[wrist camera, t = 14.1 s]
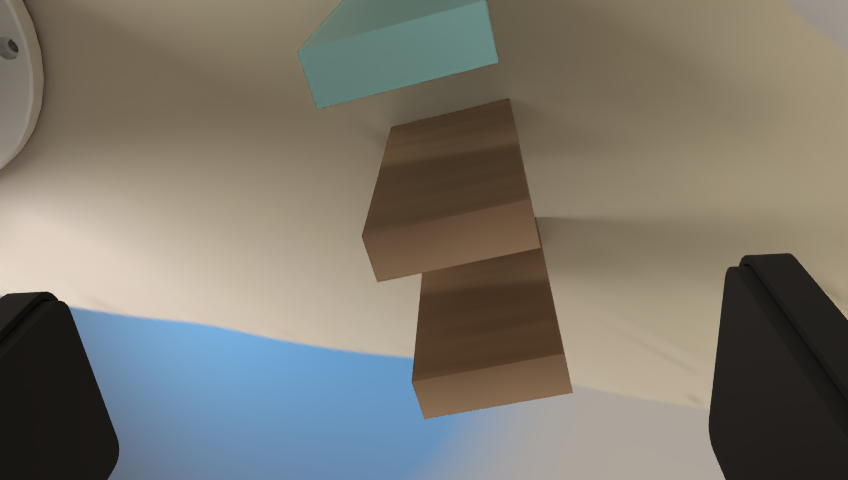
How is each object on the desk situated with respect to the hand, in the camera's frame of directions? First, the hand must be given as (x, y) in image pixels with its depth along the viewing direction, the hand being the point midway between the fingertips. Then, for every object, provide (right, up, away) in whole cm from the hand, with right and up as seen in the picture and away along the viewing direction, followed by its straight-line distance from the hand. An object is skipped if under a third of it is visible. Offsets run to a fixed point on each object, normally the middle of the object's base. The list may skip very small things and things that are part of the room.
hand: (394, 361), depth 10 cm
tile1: (+3, +2, +22) cm, 22 cm away
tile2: (+2, +6, +20) cm, 21 cm away
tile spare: (0, +11, +17) cm, 21 cm away
